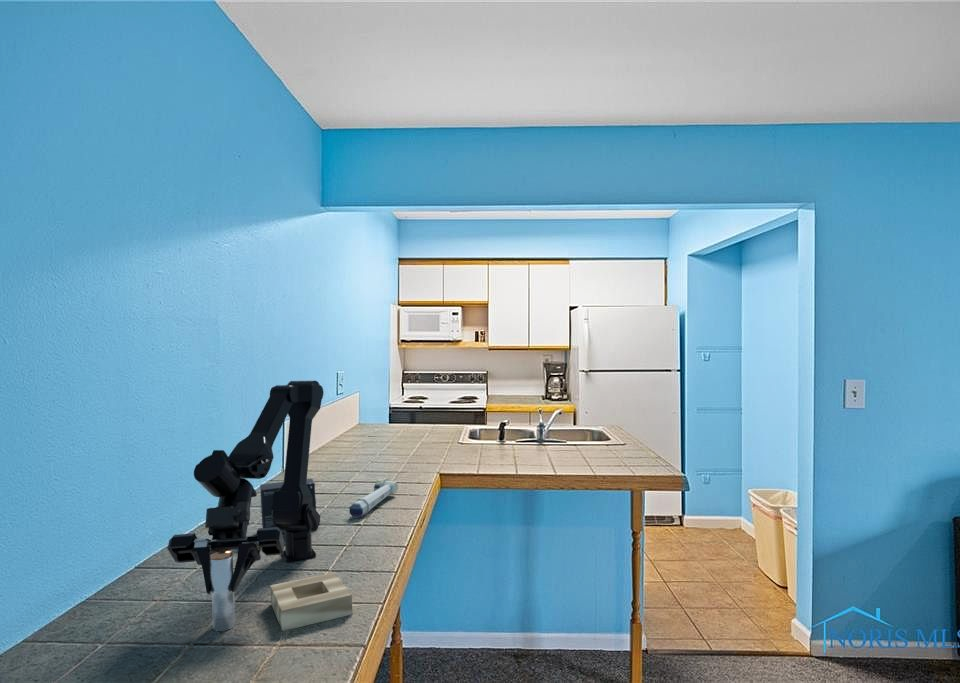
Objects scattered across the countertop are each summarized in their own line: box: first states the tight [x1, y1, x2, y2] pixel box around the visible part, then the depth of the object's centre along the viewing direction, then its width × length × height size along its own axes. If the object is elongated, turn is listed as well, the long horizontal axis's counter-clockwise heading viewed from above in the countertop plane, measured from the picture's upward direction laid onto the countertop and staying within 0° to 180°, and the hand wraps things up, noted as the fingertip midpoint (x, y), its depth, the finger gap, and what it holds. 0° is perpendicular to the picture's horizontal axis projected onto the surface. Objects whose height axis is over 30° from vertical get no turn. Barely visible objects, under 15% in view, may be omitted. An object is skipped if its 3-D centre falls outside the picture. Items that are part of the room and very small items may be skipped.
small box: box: [259, 477, 318, 536], centre depth 160 cm, size 13×7×12 cm, turn 111°
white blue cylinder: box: [348, 477, 399, 519], centre depth 180 cm, size 5×7×25 cm
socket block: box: [269, 571, 353, 632], centre depth 114 cm, size 12×12×4 cm
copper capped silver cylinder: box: [210, 548, 236, 632], centre depth 108 cm, size 4×4×13 cm
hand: (220, 592), depth 107 cm, fingers closed on copper capped silver cylinder, 4 cm apart
